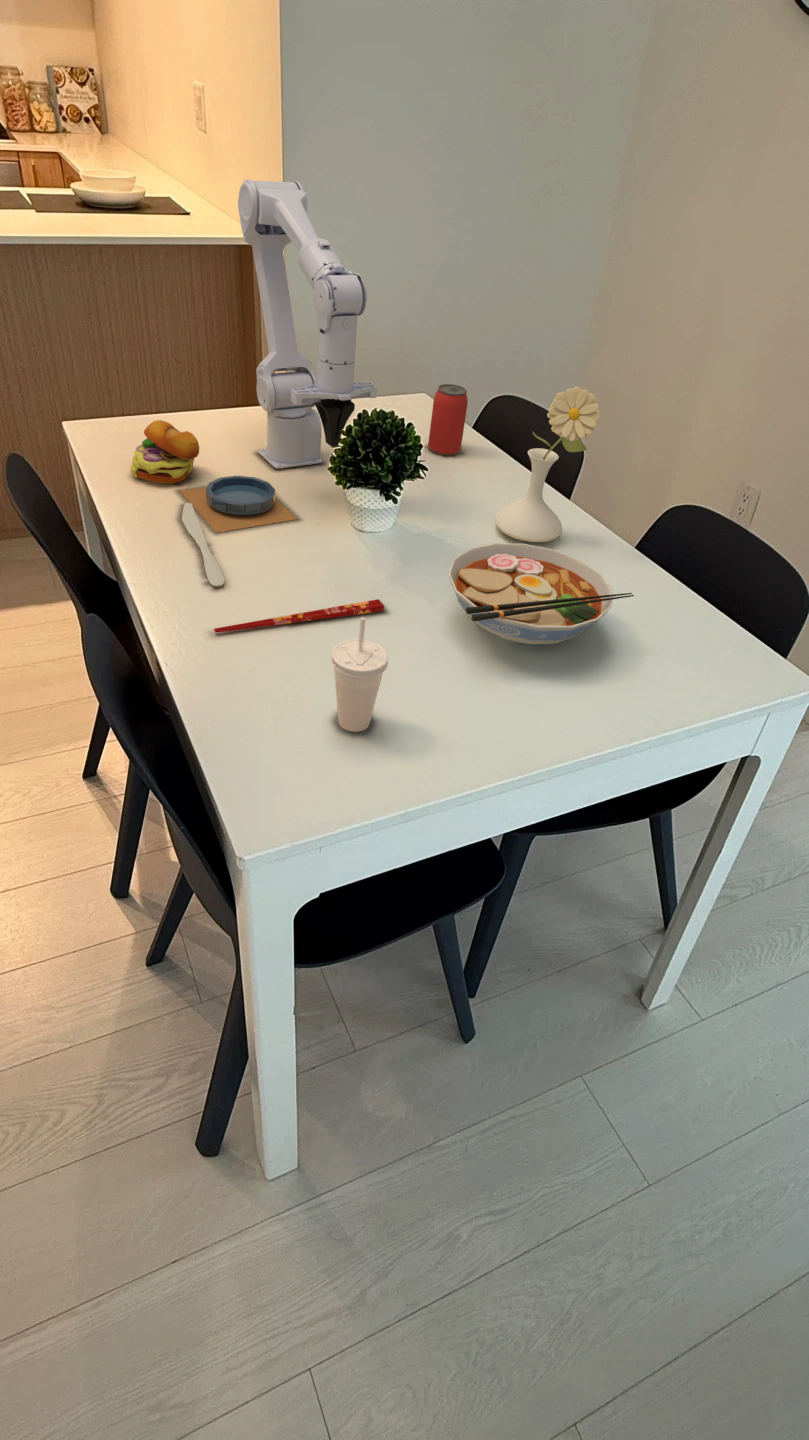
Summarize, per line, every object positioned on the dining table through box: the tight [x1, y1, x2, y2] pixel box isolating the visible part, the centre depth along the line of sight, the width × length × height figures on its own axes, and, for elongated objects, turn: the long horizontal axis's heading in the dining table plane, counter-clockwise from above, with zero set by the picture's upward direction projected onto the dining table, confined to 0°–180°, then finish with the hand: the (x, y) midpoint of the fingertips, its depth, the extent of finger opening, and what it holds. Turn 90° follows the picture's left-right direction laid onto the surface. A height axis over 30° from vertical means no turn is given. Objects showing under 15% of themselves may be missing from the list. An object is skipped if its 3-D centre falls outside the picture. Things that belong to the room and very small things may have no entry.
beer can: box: [427, 383, 469, 456], centre depth 169 cm, size 7×7×12 cm
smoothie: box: [330, 616, 389, 733], centre depth 98 cm, size 6×6×14 cm
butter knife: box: [181, 502, 225, 587], centre depth 132 cm, size 1×27×3 cm
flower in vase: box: [494, 386, 601, 543], centre depth 139 cm, size 13×11×25 cm
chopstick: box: [213, 598, 385, 634], centre depth 118 cm, size 2×24×1 cm, turn 116°
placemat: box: [179, 486, 298, 534], centre depth 144 cm, size 14×16×1 cm
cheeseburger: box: [130, 419, 200, 485], centre depth 148 cm, size 10×11×10 cm
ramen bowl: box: [447, 542, 635, 645], centre depth 120 cm, size 25×23×8 cm
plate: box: [206, 475, 276, 515], centre depth 143 cm, size 11×11×2 cm
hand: (331, 443), depth 144 cm, fingers closed
